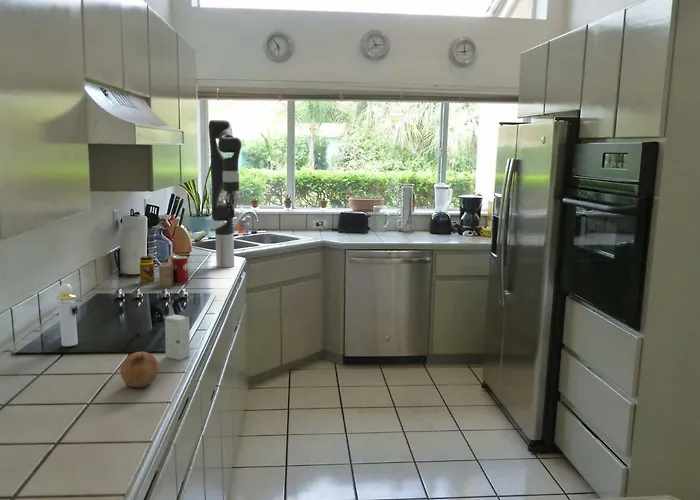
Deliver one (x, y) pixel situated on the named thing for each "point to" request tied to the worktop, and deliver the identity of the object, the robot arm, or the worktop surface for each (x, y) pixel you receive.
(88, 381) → the worktop surface
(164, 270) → the block
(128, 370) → the onion
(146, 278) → the yellow coffee bottle can
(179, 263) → the soda can
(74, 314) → the perfume bottle
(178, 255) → the tan rounded cylinder
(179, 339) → the skincare box
